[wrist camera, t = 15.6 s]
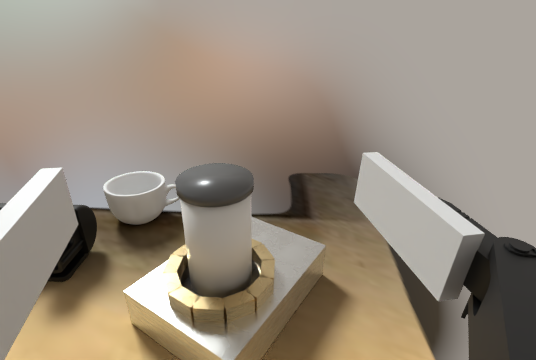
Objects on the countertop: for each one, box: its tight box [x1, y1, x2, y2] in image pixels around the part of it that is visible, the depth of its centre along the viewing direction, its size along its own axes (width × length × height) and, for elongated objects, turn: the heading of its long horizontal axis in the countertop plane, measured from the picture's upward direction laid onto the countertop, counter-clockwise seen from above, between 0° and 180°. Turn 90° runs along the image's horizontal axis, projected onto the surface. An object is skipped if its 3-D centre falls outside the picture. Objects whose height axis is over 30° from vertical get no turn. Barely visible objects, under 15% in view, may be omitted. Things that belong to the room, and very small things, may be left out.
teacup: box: [103, 171, 180, 225], centre depth 45 cm, size 10×8×5 cm
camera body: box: [124, 217, 326, 360], centre depth 32 cm, size 16×12×6 cm
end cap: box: [0, 203, 97, 282], centre depth 36 cm, size 10×7×7 cm
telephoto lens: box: [175, 163, 254, 298], centre depth 27 cm, size 6×6×10 cm
